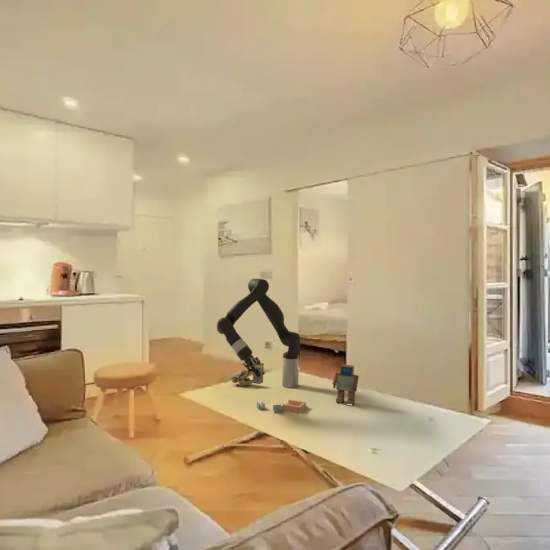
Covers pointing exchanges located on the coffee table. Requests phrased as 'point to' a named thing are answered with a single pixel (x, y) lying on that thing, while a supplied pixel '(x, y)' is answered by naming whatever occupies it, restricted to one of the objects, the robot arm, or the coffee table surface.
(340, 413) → the coffee table surface
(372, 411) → the coffee table surface
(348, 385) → the toy
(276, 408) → the clip
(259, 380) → the plug
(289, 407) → the holder
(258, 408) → the clip
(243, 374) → the skull
